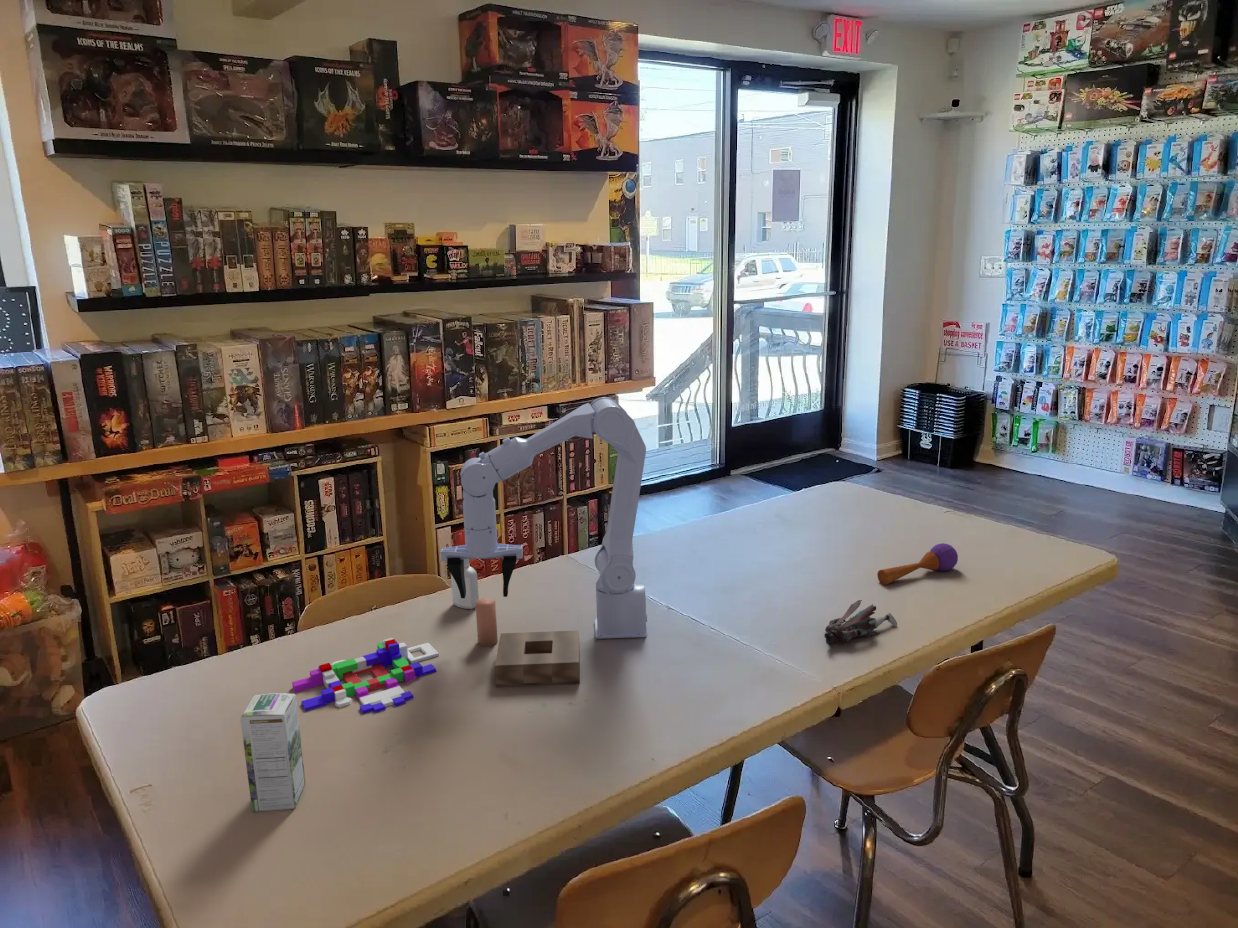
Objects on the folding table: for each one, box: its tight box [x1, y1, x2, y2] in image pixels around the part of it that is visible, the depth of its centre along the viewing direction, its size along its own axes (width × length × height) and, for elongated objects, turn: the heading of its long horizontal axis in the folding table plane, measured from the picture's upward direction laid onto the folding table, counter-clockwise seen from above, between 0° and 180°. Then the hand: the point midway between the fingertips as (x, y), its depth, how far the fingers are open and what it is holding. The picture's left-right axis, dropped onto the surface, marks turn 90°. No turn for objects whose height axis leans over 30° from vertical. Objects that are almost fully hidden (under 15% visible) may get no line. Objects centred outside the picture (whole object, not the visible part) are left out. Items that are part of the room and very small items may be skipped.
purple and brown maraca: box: [877, 542, 959, 586], centre depth 194 cm, size 6×6×20 cm
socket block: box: [494, 630, 581, 688], centre depth 157 cm, size 14×12×4 cm
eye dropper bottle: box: [450, 559, 480, 610], centre depth 182 cm, size 4×6×12 cm
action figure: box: [822, 599, 898, 647], centre depth 167 cm, size 8×6×18 cm
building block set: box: [291, 636, 440, 714], centre depth 154 cm, size 25×20×4 cm
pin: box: [475, 597, 499, 647], centre depth 166 cm, size 4×4×8 cm
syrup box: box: [240, 692, 306, 813], centre depth 121 cm, size 6×6×14 cm
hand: (484, 595), depth 165 cm, fingers open, 7 cm apart
